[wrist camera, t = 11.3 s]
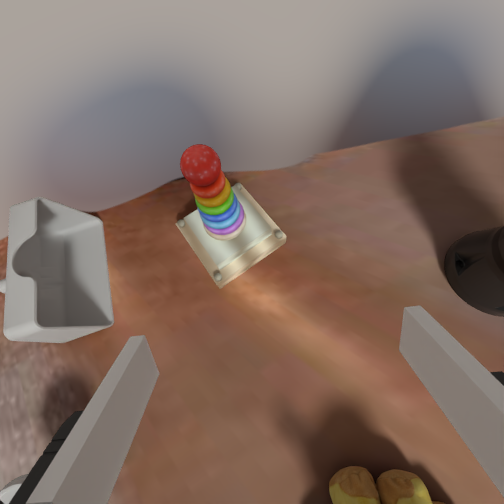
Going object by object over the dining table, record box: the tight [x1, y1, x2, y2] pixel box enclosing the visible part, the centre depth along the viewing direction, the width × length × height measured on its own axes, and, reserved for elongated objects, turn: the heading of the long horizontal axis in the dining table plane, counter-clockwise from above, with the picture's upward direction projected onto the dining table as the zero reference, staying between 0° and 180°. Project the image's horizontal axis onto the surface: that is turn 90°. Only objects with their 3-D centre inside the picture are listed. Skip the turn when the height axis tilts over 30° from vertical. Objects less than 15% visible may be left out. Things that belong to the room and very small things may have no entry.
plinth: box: [176, 183, 286, 289], centre depth 50 cm, size 16×16×6 cm
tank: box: [0, 197, 114, 343], centre depth 47 cm, size 25×16×12 cm, turn 19°
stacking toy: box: [180, 144, 246, 241], centre depth 39 cm, size 8×8×19 cm
